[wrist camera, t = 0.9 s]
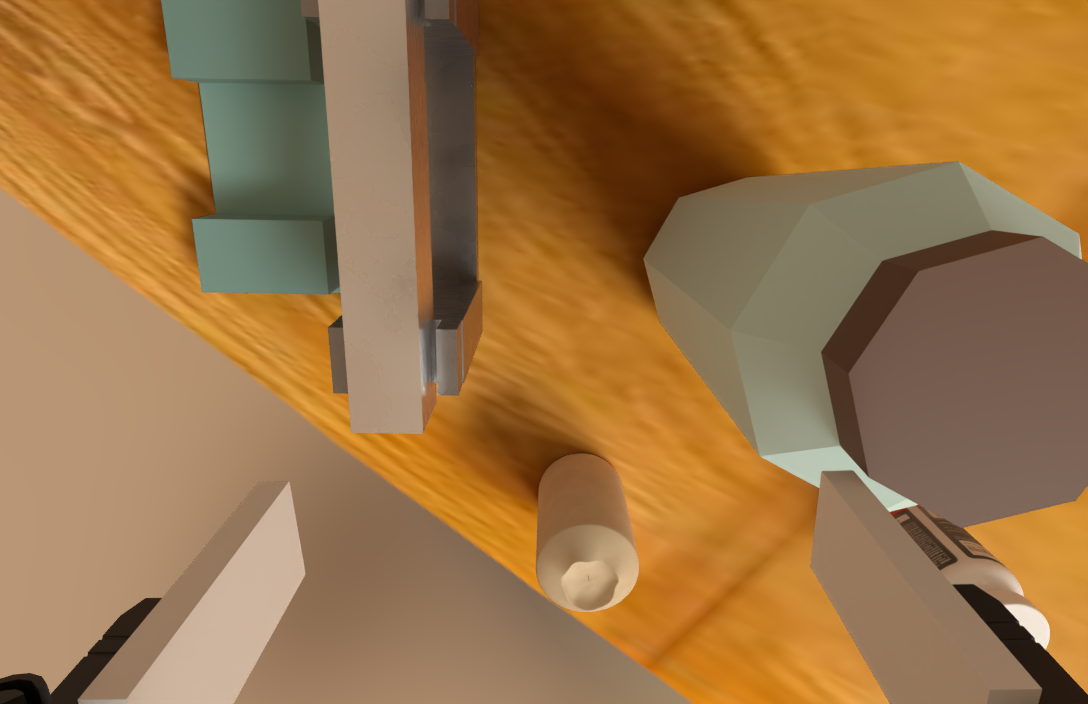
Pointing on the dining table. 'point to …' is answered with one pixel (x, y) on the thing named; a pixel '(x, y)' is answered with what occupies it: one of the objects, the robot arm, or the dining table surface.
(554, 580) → the candle
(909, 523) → the pill bottle
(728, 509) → the dining table surface
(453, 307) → the stand
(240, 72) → the rest
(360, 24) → the rail
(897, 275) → the water bottle
